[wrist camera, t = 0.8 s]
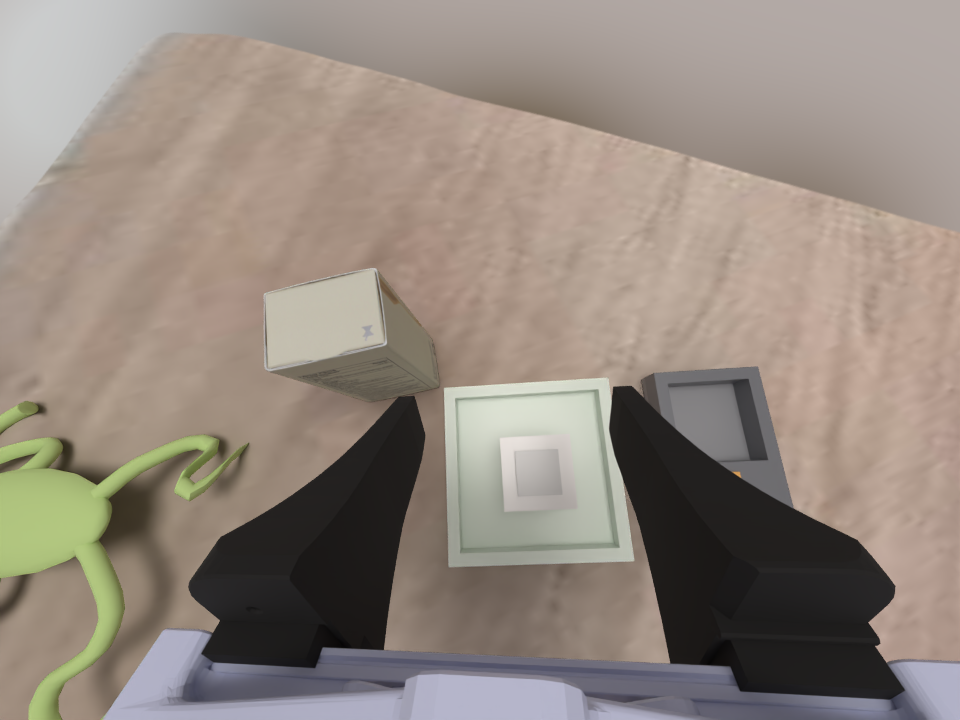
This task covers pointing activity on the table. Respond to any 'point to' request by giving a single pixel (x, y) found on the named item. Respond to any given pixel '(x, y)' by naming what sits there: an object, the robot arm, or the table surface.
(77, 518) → the figurine
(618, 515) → the tray
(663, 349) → the table surface
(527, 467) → the plug
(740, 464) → the strip
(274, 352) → the skincare box
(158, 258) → the table surface
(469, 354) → the table surface
